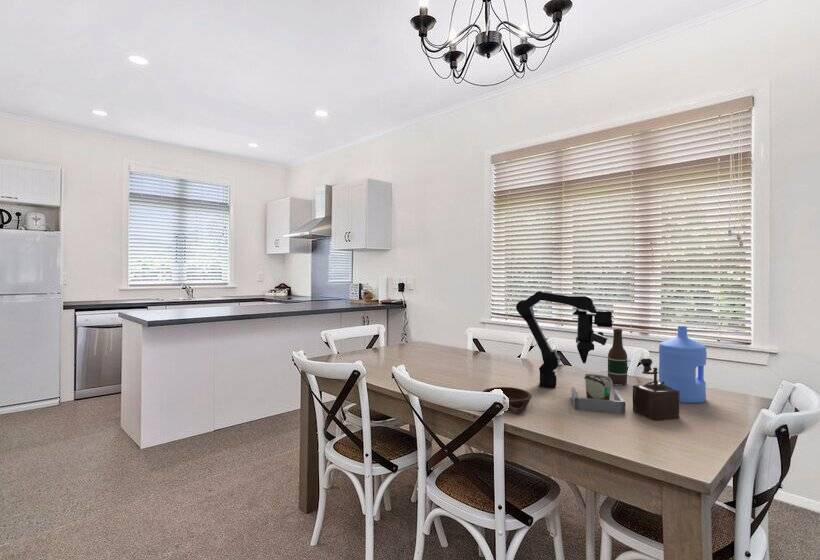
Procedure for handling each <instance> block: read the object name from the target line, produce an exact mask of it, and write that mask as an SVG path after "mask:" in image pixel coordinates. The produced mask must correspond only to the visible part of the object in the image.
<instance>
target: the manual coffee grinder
mask: <svg viewBox="0 0 820 560" xmlns="http://www.w3.org/2000/svg"><path fill="white" fill-rule="evenodd" d="M640 364H641V365H642V366H643V369H642V370H643V371H642V372H641V373H642V374H643V375H653V381H650V382H647V383H644V384H635V385H632V412H634V413H635V414H637V413H638V414H637V415H640V416H642V417H644V416H645V418H647V419H649V420H652V421H654V422H655V421H657V422H658V421H669V420H670V421H671V420H677V419H680V403H681V402H680V392H679V391H677V390H675V389H672V388H671V387H669V386H666V385H665V384H664V383H665V382H664V381H663V382H662V383H660V382H659V381H658V374H659V371H658V367H656V366H655V367H653V369H652V365H653V359H652V358H649V357H642V358H641V359H640ZM652 370H653V371H652Z"/></svg>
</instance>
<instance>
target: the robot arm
mask: <svg viewBox="0 0 820 560" xmlns="http://www.w3.org/2000/svg"><path fill="white" fill-rule="evenodd" d="M540 301H543V302H549V303H550V302H551V303H557V304H562V305H563V304H564V305H567V306H571V307H573V308H576V310H575V311H574V312H573V313H572V315H574V316H577V328H576V329H577V330H576V331H577V333H576V335H577V336H576V337H575V343H577V344H576V349H577V352H578V354H579V357H580V360H581V362H582V364H586V362H587V360H588V355H589V352H591V351H595V344H594V342H596V343H598V344H600V345H602V346H605V345H606V344H607V341H608V337H607V336H606V335H605V334H604V332H602V331H598V332H594V329H593V324H594V325H596V328H597V327H598V328H613V311H612V310H598V308H597V307H596V306H595V304H594V301H593V298H592V297H591V296H589V295H565V294H559V293H553V292H548V291H547V292H546V291H543V290H538V291H536V292H535V293H534V294H532V295H531V296H529V297H528V298H527V299H522V300H519V301H518V302H517V303H516V305H515V309H516V311H517V313H518V314H519V315H520V317H521V318H522V319H523V320H524V321H525V323H526V324H527V326H528V328H529V330H530V332H531V334H532V336H533V338H534V340H535V342H536V344H537V346H538V349H540V353H541V358H542V362H543V363H542V364H541V365H540V366H539V368H538V369H539V383H538V385H539V387H540V388H550V389H551V388H552V389H556V386H557V374H556V371H555V370H556V369H557V368H558V367H559V365H560V364H561V356H560V354H559V353H558V351H557V349H556V348H555V349H553V348H552V347H551V346H550V344H549V342H548V341H547V338H546V337H545V335H544V333H543V331H542V329H541V327H540V325H539V323H538V321H537V319H536V316H535V311H534V306H535V305H536V304H538V303H539V302H540ZM588 312H589V313H588ZM593 316H594V317H593Z"/></svg>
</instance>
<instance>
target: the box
mask: <svg viewBox="0 0 820 560" xmlns="http://www.w3.org/2000/svg"><path fill="white" fill-rule="evenodd" d="M571 399H572V400H571V401H572V402H573V407H574V410H578V409H581V411H592V412H601V411H602V413H603V412H605V413H613V412H615V414H624V413H625V414H626V401H625V399H624V398H623V396H622V395H621V394H620V392H619V390H617V389H614V390H613V399H610V400H603V399H591V398H586V397H579V396H578V392H577V390H576V387H575V386H571Z"/></svg>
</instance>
